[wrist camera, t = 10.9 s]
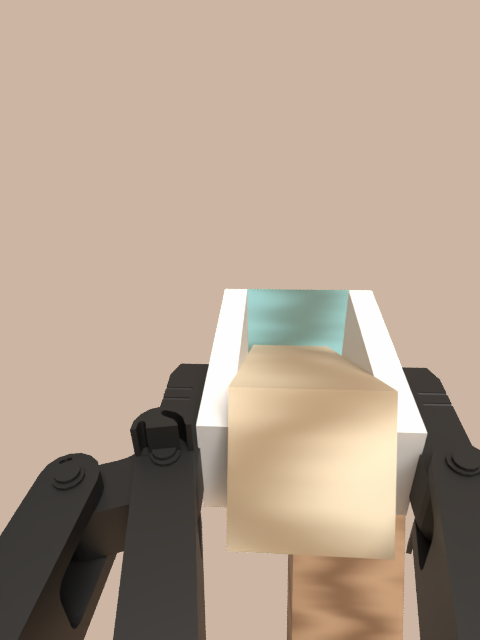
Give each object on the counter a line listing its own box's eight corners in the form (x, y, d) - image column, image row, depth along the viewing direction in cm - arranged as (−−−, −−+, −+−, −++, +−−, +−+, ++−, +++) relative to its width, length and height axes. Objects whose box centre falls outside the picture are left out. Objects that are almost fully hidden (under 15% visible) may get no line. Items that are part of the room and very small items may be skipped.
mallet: (164, 547, 9) (167, 259, 9) (235, 393, 27) (236, 293, 27) (461, 563, 9) (468, 261, 9) (335, 396, 27) (337, 295, 27)
